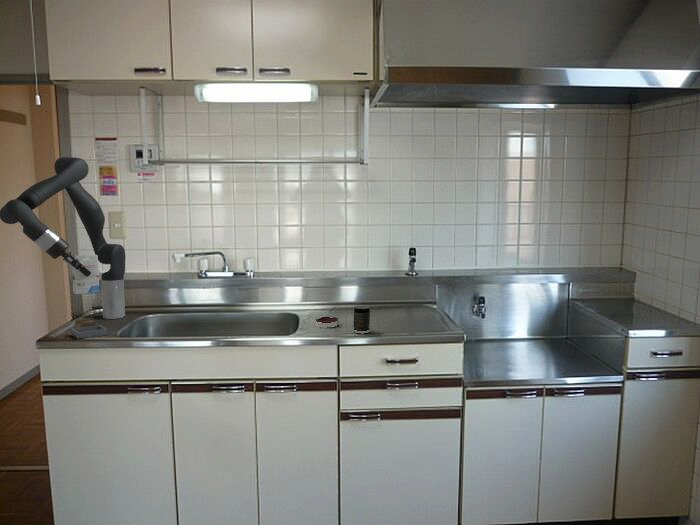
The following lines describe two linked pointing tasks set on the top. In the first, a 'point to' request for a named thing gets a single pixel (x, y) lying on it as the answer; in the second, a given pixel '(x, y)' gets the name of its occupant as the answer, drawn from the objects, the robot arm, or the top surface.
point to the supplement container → (361, 318)
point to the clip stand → (83, 323)
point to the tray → (89, 331)
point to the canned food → (326, 318)
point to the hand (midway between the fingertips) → (88, 273)
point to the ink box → (80, 280)
